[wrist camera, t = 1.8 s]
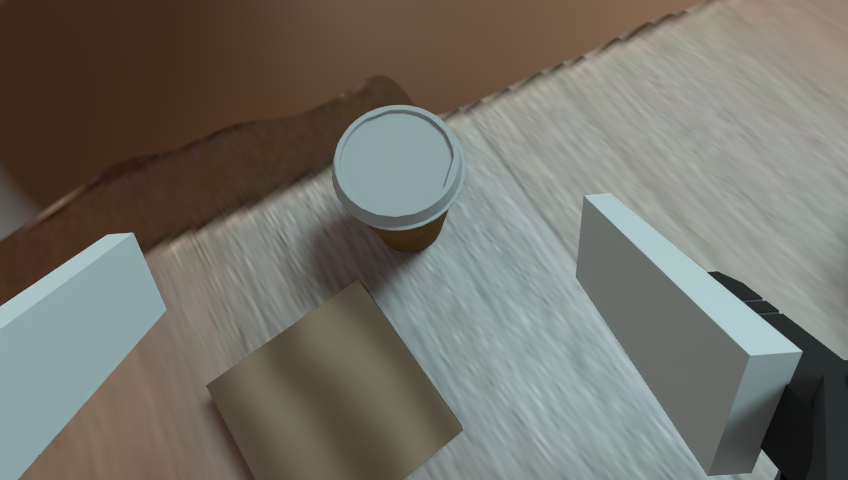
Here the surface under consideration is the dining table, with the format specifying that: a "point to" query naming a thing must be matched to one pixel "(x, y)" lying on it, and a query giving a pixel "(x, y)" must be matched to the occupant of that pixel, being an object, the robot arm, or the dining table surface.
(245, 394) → the walnut base
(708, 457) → the robot arm
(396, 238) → the disposable coffee cup
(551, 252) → the dining table surface
